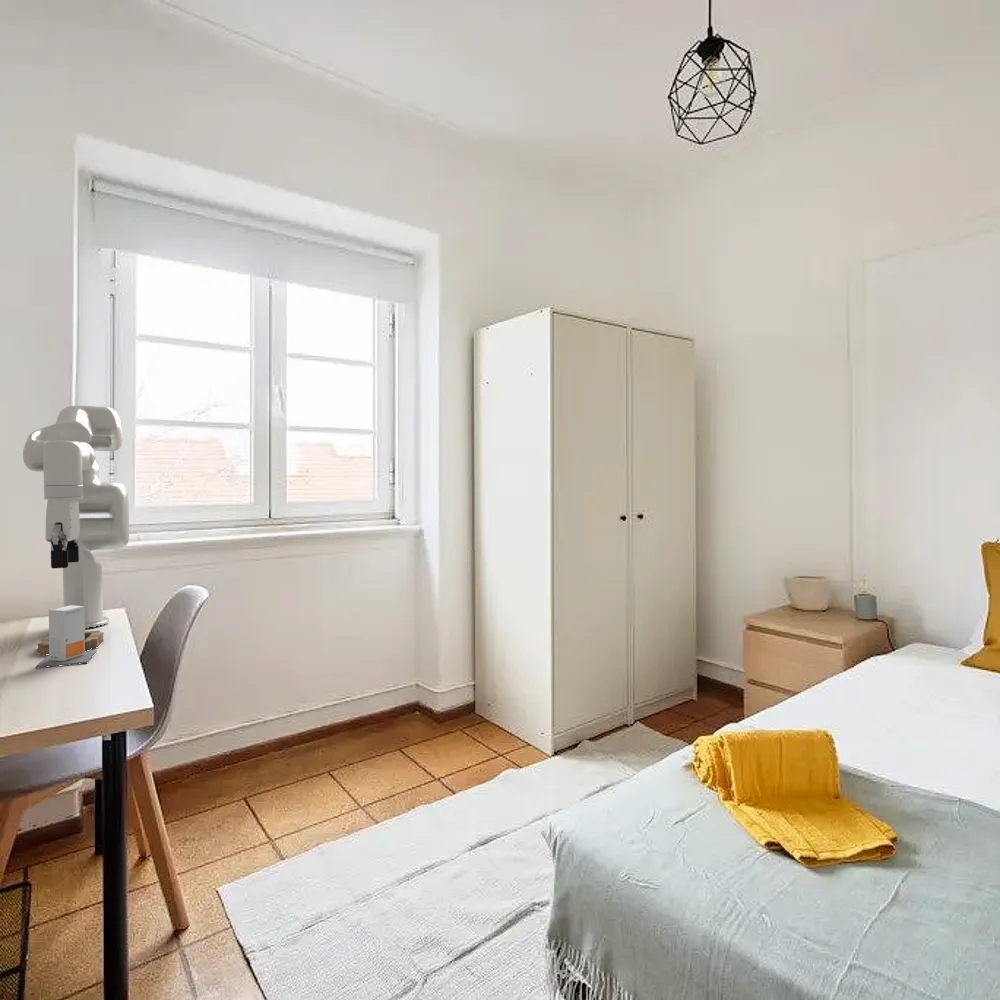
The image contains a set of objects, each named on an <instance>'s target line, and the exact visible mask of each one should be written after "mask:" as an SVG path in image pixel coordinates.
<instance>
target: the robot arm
mask: <svg viewBox="0 0 1000 1000" xmlns="http://www.w3.org/2000/svg"><path fill="white" fill-rule="evenodd" d="M58 413H59V414H58V415H57V419H56V421H55V423H54V424H51V425H48V426H46V427H42V428H41V427H40V428H38V429H36V430H33V431H32V432H31V433H30V434H29V435H28V437H27V438H26V441H25V443H24V446H23V451H22V460H23V463H24V465H25V467H26V468H27V469H28V470H30V471H32V472H33V471H34V472H42V473H43V495H44V497H43V498H44V499H43V500H47V502H46V512H45V541H46V542H47V543H50V567H51V569H62V582H63V583H62V587H63V607H66V606H70V605H73V606H84V622H85V623H84V625H85V628H87V629H90V628H89V627H93V628H97V627H96V626H98V627H101V626H100V625H102V626H105V625H108V624H109V623H110V618H108V617H106V616H104V612H103V611H104V609H103V607H104V606H103V605H104V604H103V599H104V598H103V568H102V563H101V561H100V559H98V557H97V556H95V555H94V554H93V553H92V551H102V550H119V549H123V548H126V547H127V545H128V544H129V540H130V518H129V517H130V516H129V515H130V513H129V512H130V511H129V510H130V509H129V505H130V504H129V493H128V491H127V488H126V486H125V485H124V484H122V483H120V482H113V481H112V482H111V481H106V482H105V481H100V468H99V465H98V463H97V462H96V454H95V452H115V451H118V450H119V449H121V447H122V445H123V440H124V435H123V430H122V424H121V419H120V416H119V415H118V413H117V411H116V410H114V409H113V408H112V407H108V406H93V405H91V406H89V405H70V406H69V405H68V406H66V407H64V408H62V409H61V410H60V412H58ZM103 514H104V515H105V514H106V515H107V514H108V515H110V516H111V517H80V515H103ZM108 622H109V623H108ZM104 624H105V625H104Z"/></svg>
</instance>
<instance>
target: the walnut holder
mask: <svg viewBox="0 0 1000 1000" xmlns="http://www.w3.org/2000/svg"><path fill="white" fill-rule="evenodd" d="M102 642H103V643H104V631H101V630H87V631H85V651H87V650H90V649H91V648H96V647H98V646H99V645H100V644H101V643H102ZM103 643H102V644H103ZM102 644H101V645H102ZM101 645H100V646H101ZM100 646H99V647H100ZM99 647H98V648H99ZM91 650H92V649H91ZM91 650H90V651H91ZM38 653H40V656H41V655H45V656H47V655H46V654H49V635H48V636H46V637H44V638H43V639H42V640H40V641H39V642H38V643H37V654H38Z"/></svg>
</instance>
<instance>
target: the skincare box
mask: <svg viewBox="0 0 1000 1000" xmlns="http://www.w3.org/2000/svg"><path fill="white" fill-rule="evenodd" d="M84 623H85V622H84V606H73V605H70V606H66V607H64V606H61V607H57V608H54V609H50V610H48V636H49V660H52V661H65V660H68V659H72V658H75V657H78V656H82V655H85V625H84Z"/></svg>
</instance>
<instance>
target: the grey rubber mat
mask: <svg viewBox="0 0 1000 1000" xmlns="http://www.w3.org/2000/svg"><path fill="white" fill-rule="evenodd" d="M96 652H98V650H90V651H86V652H85V655H82V656H78V657H75V658H72V659H68V660H65V661H52V660H49V655H46V656H45V657H44V658H43V659H42V660H41V661H40V662H39V663H37V665H35V669H38V668H37V667H46V668H48V667H47V666H57V667H60V666H59V665H67V666H70V665H69V664H78V665H80V664H79V663H87V662H88V661H89V660H90V659H91V658H92V656H93V655H94V654H95V653H96ZM96 654H97V653H96ZM96 654H95V655H96ZM95 655H94V656H95ZM94 656H93V657H94ZM92 659H93V658H92ZM92 659H91V660H92ZM91 660H90V661H91ZM90 661H89V662H90ZM89 662H88V663H89ZM88 663H87V664H88Z"/></svg>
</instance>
